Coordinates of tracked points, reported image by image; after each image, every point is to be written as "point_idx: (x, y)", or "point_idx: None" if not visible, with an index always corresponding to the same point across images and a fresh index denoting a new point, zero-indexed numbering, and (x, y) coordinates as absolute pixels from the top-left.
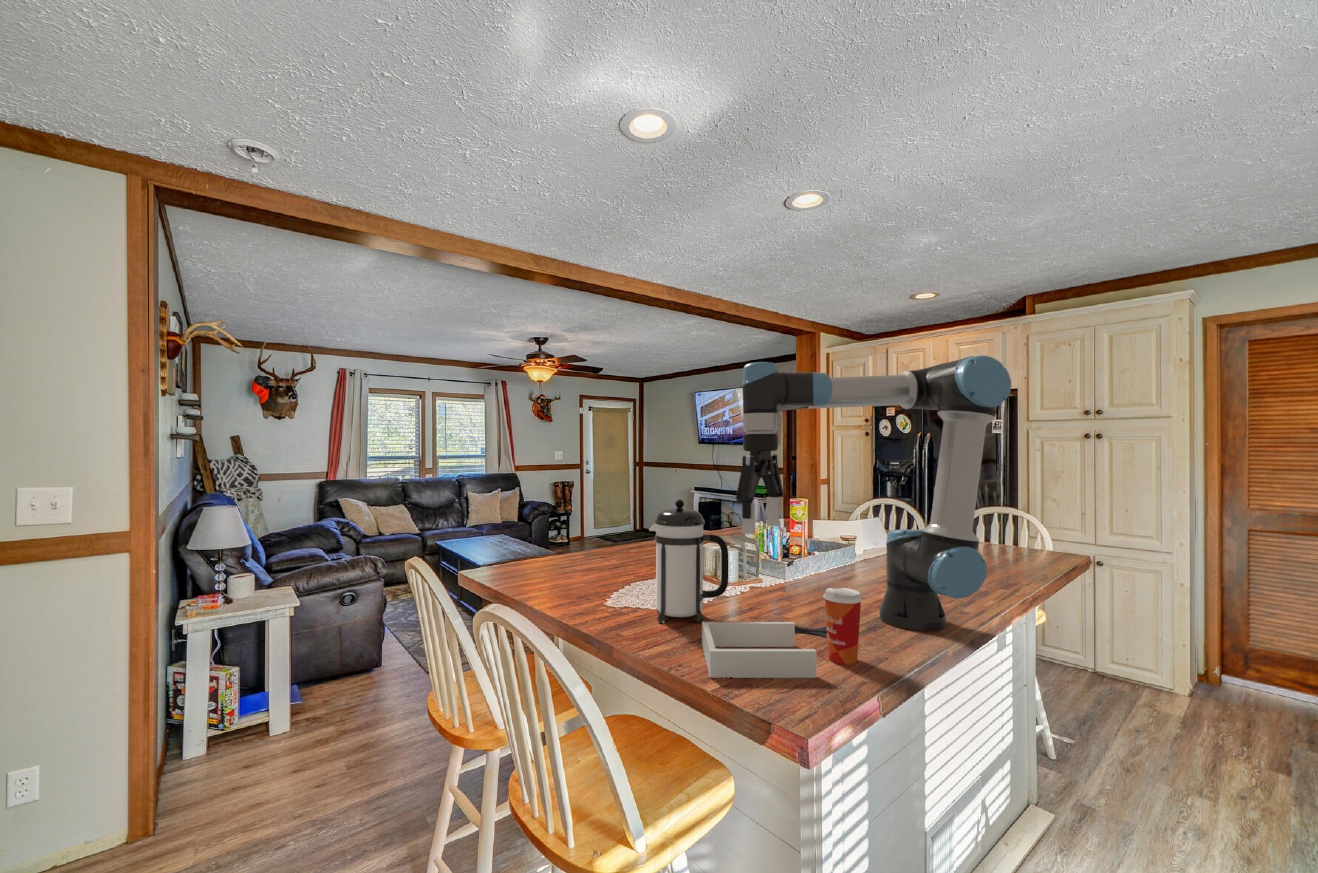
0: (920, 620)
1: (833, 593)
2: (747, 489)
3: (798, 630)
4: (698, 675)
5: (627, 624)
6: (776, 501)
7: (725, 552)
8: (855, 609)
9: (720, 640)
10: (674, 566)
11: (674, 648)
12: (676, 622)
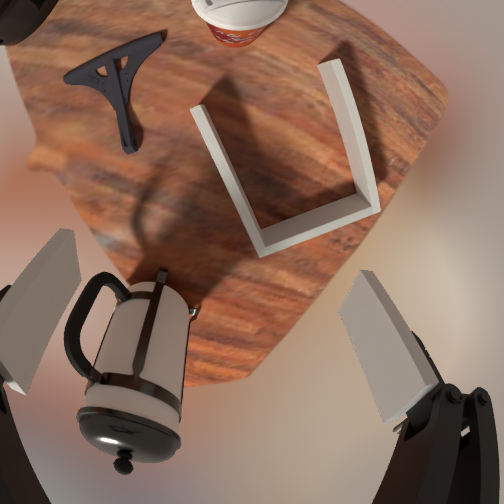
0: None
1: (269, 4)
2: (492, 436)
3: (127, 116)
4: None
5: (220, 337)
6: (7, 333)
7: (76, 322)
8: None
9: (254, 217)
10: (180, 366)
11: (283, 265)
12: None
